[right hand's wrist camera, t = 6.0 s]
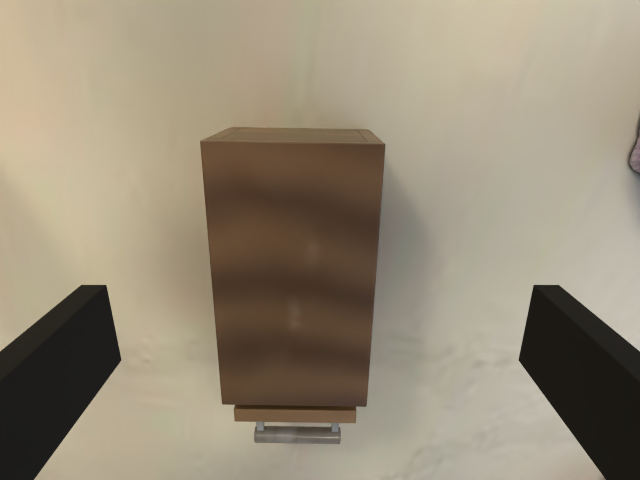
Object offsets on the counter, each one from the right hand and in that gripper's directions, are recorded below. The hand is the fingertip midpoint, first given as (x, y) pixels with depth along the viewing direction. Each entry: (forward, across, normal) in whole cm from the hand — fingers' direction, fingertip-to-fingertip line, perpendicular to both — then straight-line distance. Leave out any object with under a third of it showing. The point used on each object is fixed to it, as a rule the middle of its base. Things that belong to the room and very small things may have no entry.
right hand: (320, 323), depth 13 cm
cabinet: (+21, -2, -5) cm, 22 cm away
